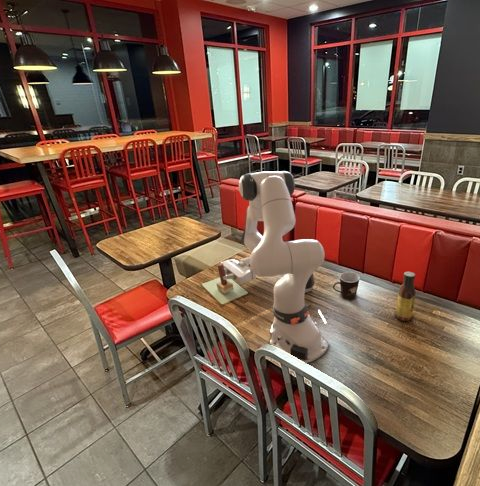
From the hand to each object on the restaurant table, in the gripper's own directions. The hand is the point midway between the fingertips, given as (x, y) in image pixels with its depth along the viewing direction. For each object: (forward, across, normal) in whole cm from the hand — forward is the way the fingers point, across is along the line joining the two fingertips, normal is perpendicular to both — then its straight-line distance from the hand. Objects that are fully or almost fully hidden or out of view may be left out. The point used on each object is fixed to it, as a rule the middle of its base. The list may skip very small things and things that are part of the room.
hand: (220, 276), depth 145 cm
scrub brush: (-1, +1, +7) cm, 7 cm away
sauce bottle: (-48, +65, +8) cm, 81 cm away
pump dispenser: (-30, +24, +8) cm, 39 cm away
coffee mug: (-41, +40, +8) cm, 58 cm away
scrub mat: (-1, -1, +8) cm, 9 cm away
